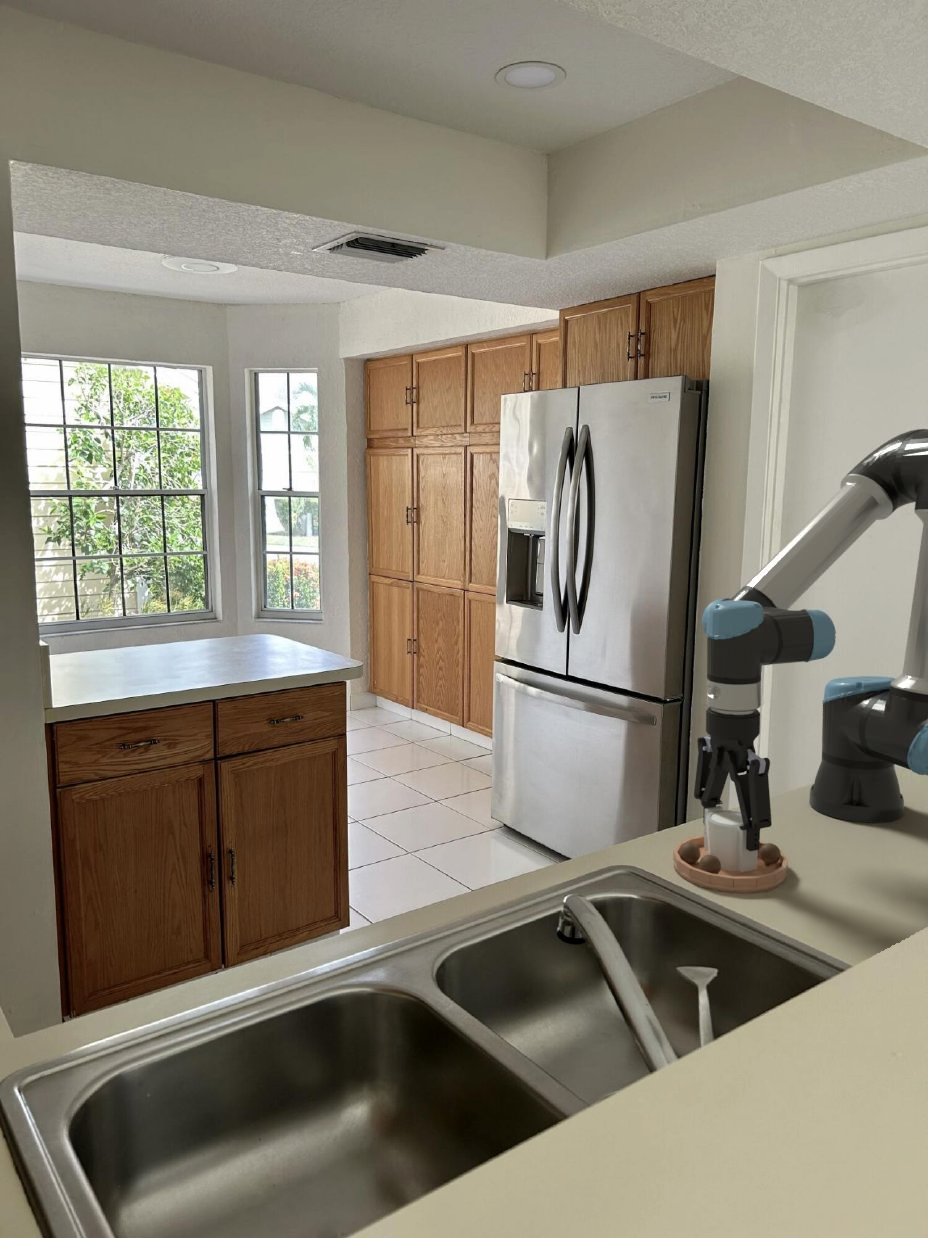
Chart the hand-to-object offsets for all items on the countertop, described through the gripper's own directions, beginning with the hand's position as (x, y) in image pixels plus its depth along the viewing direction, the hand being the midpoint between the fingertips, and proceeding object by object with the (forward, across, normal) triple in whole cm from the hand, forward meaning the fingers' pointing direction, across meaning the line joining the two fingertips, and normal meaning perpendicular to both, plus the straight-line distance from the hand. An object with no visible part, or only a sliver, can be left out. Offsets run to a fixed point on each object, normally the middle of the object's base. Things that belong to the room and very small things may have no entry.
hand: (729, 859), depth 135 cm
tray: (+2, 0, 0) cm, 2 cm away
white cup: (+1, 0, 0) cm, 1 cm away
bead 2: (-1, +2, -5) cm, 6 cm away
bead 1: (-1, -2, -5) cm, 6 cm away
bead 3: (-1, +2, +5) cm, 6 cm away
